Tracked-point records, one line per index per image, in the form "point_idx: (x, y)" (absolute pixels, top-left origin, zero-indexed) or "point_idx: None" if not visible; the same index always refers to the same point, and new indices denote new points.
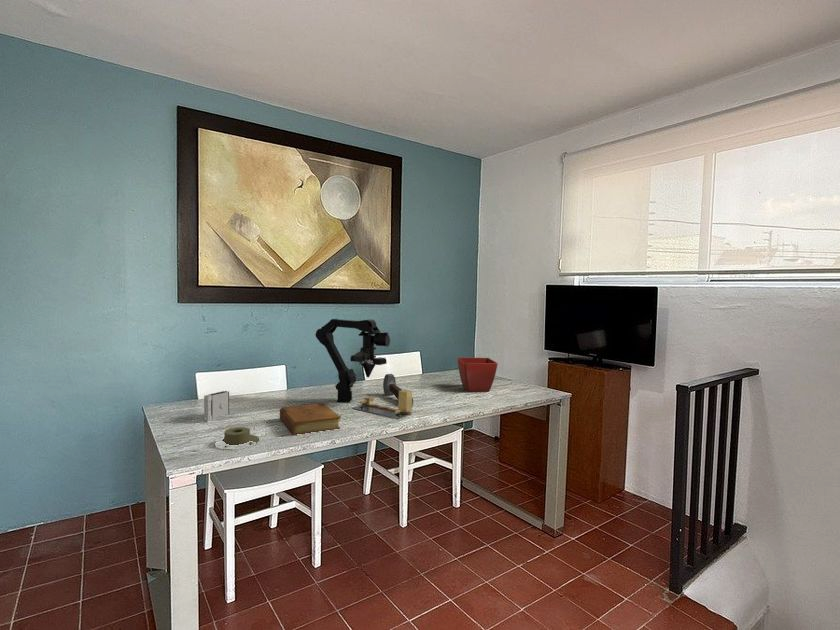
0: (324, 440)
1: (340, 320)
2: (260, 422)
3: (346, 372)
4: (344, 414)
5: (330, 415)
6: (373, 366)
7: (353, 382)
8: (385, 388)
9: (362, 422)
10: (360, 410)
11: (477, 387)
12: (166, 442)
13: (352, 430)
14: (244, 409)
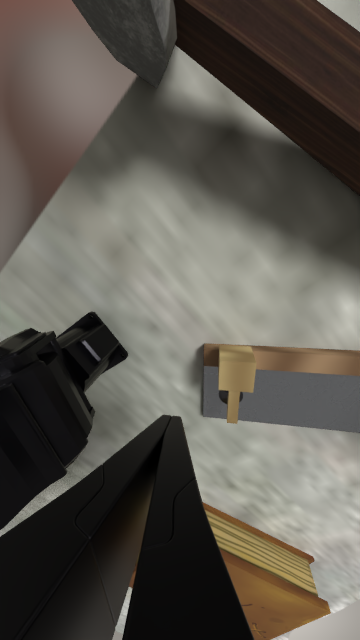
0: (329, 606)
1: None
2: None
3: (2, 521)
4: (229, 469)
5: (294, 610)
6: (219, 604)
7: (71, 390)
8: (134, 50)
9: (340, 506)
10: (246, 418)
11: None
12: (118, 630)
13: (353, 557)
14: (15, 516)
